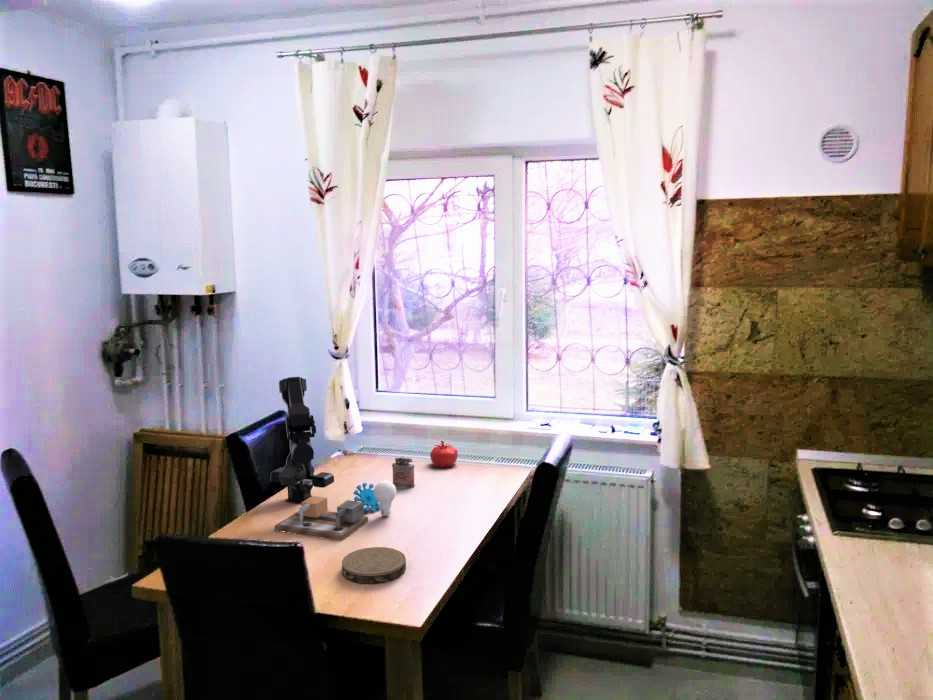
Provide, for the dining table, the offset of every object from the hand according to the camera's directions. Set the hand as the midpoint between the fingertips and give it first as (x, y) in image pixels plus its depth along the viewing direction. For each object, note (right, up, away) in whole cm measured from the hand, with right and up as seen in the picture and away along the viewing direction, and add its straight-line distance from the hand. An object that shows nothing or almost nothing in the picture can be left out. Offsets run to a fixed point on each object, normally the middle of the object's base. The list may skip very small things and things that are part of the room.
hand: (303, 505), depth 221 cm
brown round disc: (+25, -10, -33) cm, 43 cm away
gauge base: (+6, -5, -4) cm, 9 cm away
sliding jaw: (+3, -3, -3) cm, 5 cm away
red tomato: (+40, +3, +53) cm, 67 cm away
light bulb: (+24, -4, +3) cm, 25 cm away
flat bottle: (+27, 0, +30) cm, 41 cm away
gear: (+19, -3, +9) cm, 21 cm away
